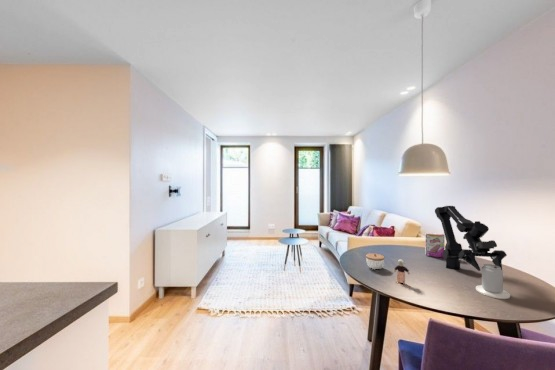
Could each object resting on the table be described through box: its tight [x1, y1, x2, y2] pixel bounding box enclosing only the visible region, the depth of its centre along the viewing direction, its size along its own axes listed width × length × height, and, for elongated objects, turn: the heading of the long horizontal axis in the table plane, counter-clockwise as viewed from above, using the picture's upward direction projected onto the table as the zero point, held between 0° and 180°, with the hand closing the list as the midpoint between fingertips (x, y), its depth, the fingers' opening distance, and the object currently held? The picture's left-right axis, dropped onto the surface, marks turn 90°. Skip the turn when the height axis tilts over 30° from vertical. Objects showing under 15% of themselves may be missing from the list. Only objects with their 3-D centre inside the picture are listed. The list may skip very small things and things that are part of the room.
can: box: [481, 263, 504, 294], centre depth 109 cm, size 8×8×12 cm
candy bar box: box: [424, 232, 445, 259], centre depth 164 cm, size 11×5×16 cm, turn 65°
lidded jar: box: [365, 252, 385, 270], centre depth 143 cm, size 11×11×9 cm
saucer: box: [475, 284, 511, 300], centre depth 109 cm, size 12×12×1 cm
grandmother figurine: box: [393, 259, 411, 285], centre depth 122 cm, size 8×4×13 cm, turn 66°
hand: (490, 271), depth 110 cm, fingers open, 9 cm apart
